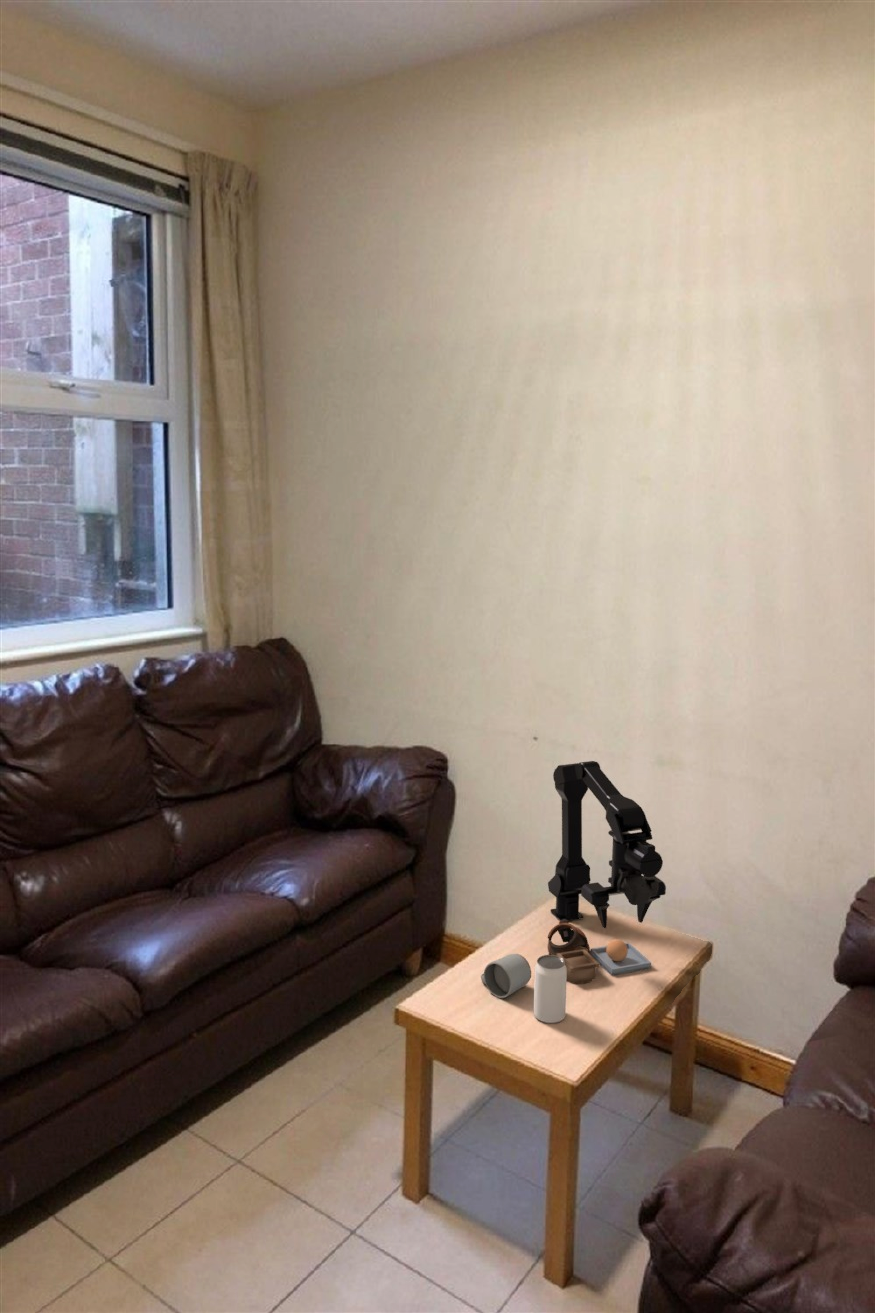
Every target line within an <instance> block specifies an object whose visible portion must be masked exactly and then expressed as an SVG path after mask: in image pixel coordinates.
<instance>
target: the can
mask: <svg viewBox="0 0 875 1313" xmlns="http://www.w3.org/2000/svg"><path fill="white" fill-rule="evenodd" d="M566 980H567V969H566V966H565V961H564V960H563V959H562V958H561V957H559V956H556V955H552V954H551V955H549V954H545V955H541V956H539V957H538V958H537V960H536V963H535V966H534V980H533V981H534V982H533V983H534V988H533V1014H534V1017H535V1018H536V1020H538V1021H539V1022H542V1023H544V1024H552V1025H553V1024H558V1023H560V1022H562V1021H563V1020H564V1019H565V1018H566V1010H567V1008H566V1006H567V1003H566V1002H567V981H566Z"/></svg>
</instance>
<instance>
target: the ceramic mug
mask: <svg viewBox="0 0 875 1313" xmlns="http://www.w3.org/2000/svg"><path fill="white" fill-rule="evenodd" d="M531 977H532V968H531V966H530V962H528V960H527V959H526V958H525V956H523V955H521V954H520V953H511V954H510V953H509V954H507V955H505V956H503V957H501V958H498V959H495V960H493V961H491V962H488V964H487V965H485V968H484V970H483V973H482V974H480V979H481V982H482V983H483V984H485V986H486V988H487V990H488V991H489V992H490V993H491V994H492V995H493V996H495V997H496V998H498V999H505V998H507V997H510V995H512V994H514V993H516V992H517V991H518V990H520V989H522V988H524V987H525V986H526V985H527V984H528V983H529V982H530V980H531Z"/></svg>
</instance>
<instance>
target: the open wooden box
mask: <svg viewBox="0 0 875 1313" xmlns="http://www.w3.org/2000/svg"><path fill="white" fill-rule="evenodd" d="M555 956H559V957H561V958H562V959H563V960H564V961H565V966H566V969H567V980H566V982H568V983H571V984H580V985H582V984H588V983H591V982H593V981H594V980H595V978H596V972H597V971H596V970H597V969H596V968H599V967H600V964H599V963H598V962H597V961H596V960H595V959H594V958H593V957H592V956H591V955H590V954H589V953H588V951H587V949H586V948H581V949H575V951H569V952H563V953H557V954H556V955H555Z"/></svg>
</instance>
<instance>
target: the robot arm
mask: <svg viewBox="0 0 875 1313" xmlns="http://www.w3.org/2000/svg"><path fill="white" fill-rule="evenodd" d="M552 776H553V781H554V788H555V791H556V792H557V793H558V795H559V797H560V798H561V856H560V858H559V860H558V861H557V863H556V865H555V870H554V876H553V877H552V878H551V879H550V880H549V881H548V882H547V887H548V892H549V893H550V894H552V895H553V897H555V908H551V909H550V913H551V914H553V915H554V917H555V918H556V919H557V920H559V922H560V921H561V920H563V919H566V920H567V921H568V922H569V921H574V920H583V919H584V918H585V916H584V915H583V914H582V913H581V912H580V896H581V897H582V898H584V899H585V900H586V901H587V902H589V903H590V905H591V906H593V907H594V909H595V911H596V913H597V916H598V919H599V921H600V923H601V924H600V925H601V926H602V928H603V929H607V924H608V908H609V907H610V904H609V903H608V902H609V901H610V896H616V895H621V894H622V895H623V894H624V896H625V897H626V899H627V900H628V902H629V904H630V905H632V906H636V914H637V920H638V923H640V924H642V923H643V921H644V919H645V916H646V914H647V912H648V910H649V908H650V906H651V904H652V903H653V902H654V901H655V900H657V899H660V898H661V896H665V895H666V894H667V886H666V883H665V882H664V881H663V880H662V879H661V878H659V877H657V876H656V875H658V874H659V872H660V871H661V870H662V867H663V863H664V862H663V857H662V856H661V853H659V852H657V851H656V845H654V844H652V843H649V842H648V841H650V840H653V835H652V833H651V832H652V828H651V827H650V823H649V822H648V819H647V817H646V814H645V811H644V810H643V808H642V807H641V806H640V805H639V804H638V803H637V802H636V801H635V800H634V799H632V798H629V797H626V796H623V794H621V792H620V791H619V790H618V788H617V787H616V786H615V785H614V784H613V782H612V781H611V780H610V778H608V776H607V774H605V773H604V772H603V770H602V769H601V766H600V763H599V762H598V761H595V760H589V761H581V762H577V763H576V762H575V763H568V764H559V765H557V767H556V768H555V769H554V771H553V775H552ZM589 790H590V792H591V793H592V794H593V795H594V796H595V798H596V799H597V801H598V802H599V803H600V804H601V806H602V807H603V809H604V810H605V820H606V822H607V823H608V825H609V827H610V829H611V830H609V831H608V835H609V836H610V837H612V851H611V860H608V866H609V867H611V873H610V874H611V875H610V876H611V877H608V878H607V879H608V880H607V882H608V883H609V884H610V886H603V885H602V884H600V883H599V882H591V866H590V865H589V864H587V863H586V861H585V859H584V858H583V827H582V826H583V817H582V816H583V813H582V812H583V805H582V802H583V798H584V797H585V795H586V794H587V792H588V791H589ZM635 831H638V832H635ZM630 832H631V833H630Z"/></svg>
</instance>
